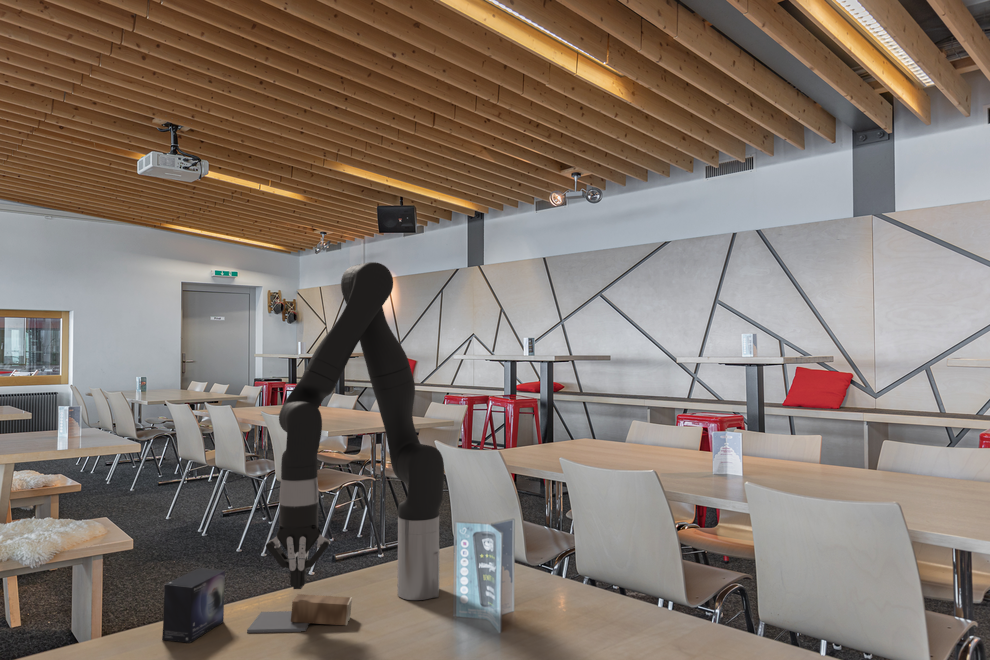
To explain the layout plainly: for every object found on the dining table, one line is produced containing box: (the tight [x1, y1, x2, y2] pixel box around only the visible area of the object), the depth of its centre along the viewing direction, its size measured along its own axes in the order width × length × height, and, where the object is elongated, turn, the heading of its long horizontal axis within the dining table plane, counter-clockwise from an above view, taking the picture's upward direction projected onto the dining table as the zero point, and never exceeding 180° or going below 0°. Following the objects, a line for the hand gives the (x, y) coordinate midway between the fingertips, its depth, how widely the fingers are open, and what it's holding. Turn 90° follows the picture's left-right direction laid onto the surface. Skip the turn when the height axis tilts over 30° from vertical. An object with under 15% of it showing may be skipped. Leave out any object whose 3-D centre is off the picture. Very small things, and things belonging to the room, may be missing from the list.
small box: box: [161, 567, 226, 644], centre depth 128 cm, size 11×6×10 cm, turn 168°
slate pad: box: [246, 610, 311, 634], centre depth 131 cm, size 11×9×1 cm
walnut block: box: [291, 593, 353, 626], centre depth 132 cm, size 4×4×11 cm
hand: (298, 587), depth 132 cm, fingers closed
